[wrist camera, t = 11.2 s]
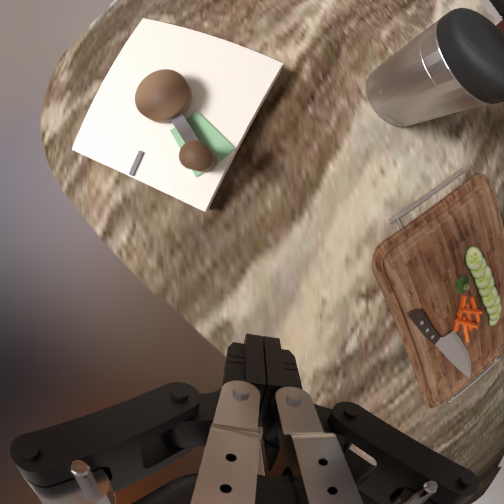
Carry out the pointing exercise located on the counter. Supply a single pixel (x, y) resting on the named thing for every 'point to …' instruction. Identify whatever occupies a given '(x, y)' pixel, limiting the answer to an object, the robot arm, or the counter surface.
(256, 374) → the robot arm
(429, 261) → the chopping board
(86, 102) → the counter surface
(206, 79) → the white square slab
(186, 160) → the crank handle
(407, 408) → the counter surface
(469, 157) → the counter surface
